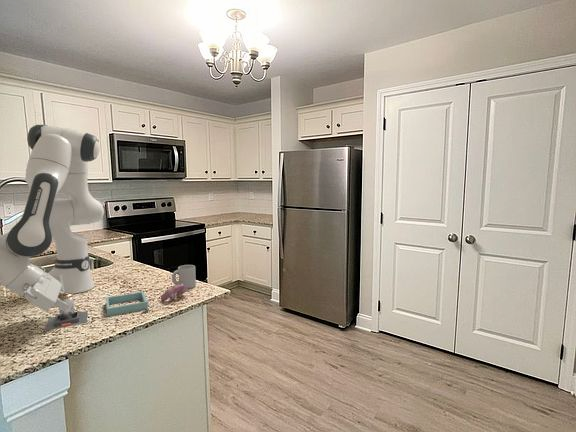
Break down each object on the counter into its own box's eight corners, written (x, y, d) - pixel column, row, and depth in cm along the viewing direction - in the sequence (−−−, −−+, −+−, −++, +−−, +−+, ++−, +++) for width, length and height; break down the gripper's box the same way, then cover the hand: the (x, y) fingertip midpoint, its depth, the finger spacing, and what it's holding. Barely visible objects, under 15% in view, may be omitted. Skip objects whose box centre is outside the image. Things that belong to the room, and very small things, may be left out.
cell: (56, 322, 102) (54, 295, 101) (67, 317, 106) (65, 290, 105) (67, 323, 101) (65, 295, 100) (77, 318, 105) (75, 291, 104)
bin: (107, 320, 106) (106, 309, 106) (106, 307, 117) (106, 297, 117) (148, 312, 113) (147, 301, 112) (143, 301, 124) (143, 291, 123)
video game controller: (165, 306, 122) (170, 292, 120) (158, 299, 124) (163, 285, 122) (186, 298, 131) (190, 285, 129) (179, 292, 133) (183, 278, 130)
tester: (44, 335, 96) (43, 327, 96) (49, 321, 105) (48, 314, 105) (87, 327, 102) (86, 319, 101) (88, 314, 111) (87, 307, 111)
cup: (196, 287, 139) (195, 268, 139) (172, 290, 136) (171, 270, 135) (195, 283, 146) (194, 264, 145) (172, 285, 142) (171, 266, 142)
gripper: (30, 281, 89) (74, 307, 95) (41, 265, 107) (78, 288, 113) (10, 299, 87) (57, 325, 93) (25, 280, 105) (63, 302, 111)
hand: (68, 305), depth 103 cm, fingers closed on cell, 4 cm apart
